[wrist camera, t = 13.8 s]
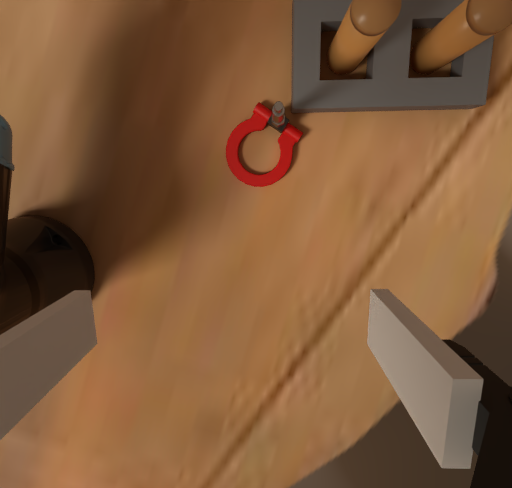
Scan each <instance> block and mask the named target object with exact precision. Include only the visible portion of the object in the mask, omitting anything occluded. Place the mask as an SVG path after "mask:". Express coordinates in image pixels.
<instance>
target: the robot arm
mask: <svg viewBox="0 0 512 488" xmlns="http://www.w3.org/2000/svg"><path fill="white" fill-rule="evenodd" d="M12 170H13V171H14V165H13V163H12V130H11V128H10V125H9V124H8V122H7V121H6V120H5V119H4V118H3V117H2V116H1V115H0V440H1V439H2V438H3V437H4V436H5V435H6V434H7V433H8V432H9V431H10V430H11V429H12V428H13V427H14V426H15V425H16V424H17V423H18V422H19V421H20V420H21V419H22V418H23V417H24V416H25V415H26V414H27V413H28V412H29V411H30V410H31V409H32V408H33V407H34V406H35V405H36V404H37V403H38V402H39V401H40V400H41V399H42V398H43V397H44V396H45V395H46V394H47V393H48V392H49V391H50V390H51V389H52V388H53V387H54V386H55V385H56V384H57V383H58V382H59V381H60V380H61V379H62V378H63V377H64V376H65V375H66V374H67V373H68V372H69V371H70V370H71V369H72V368H73V367H74V366H75V365H76V364H77V363H78V362H79V361H80V360H81V359H82V358H83V357H84V356H85V355H86V354H87V353H88V352H89V351H90V350H91V349H92V348H93V347H94V346H95V345H96V344H97V337H96V330H95V322H94V314H93V307H92V299H91V291H92V288H93V283H94V267H93V262H92V259H91V256H90V253H89V251H88V249H87V248H86V246H85V244H84V243H83V242H82V240H81V239H80V238H79V237H78V236H77V235H76V234H75V233H74V232H73V231H72V230H71V229H70V228H68V227H67V226H65V225H64V224H62V223H60V222H58V221H56V220H53V219H50V218H47V217H42V216H24V217H19V218H13V219H9V220H8V210H9V199H10V188H11V177H12ZM367 344H368V346H369V348H370V349H371V351H372V353H373V354H374V356H375V358H376V359H377V361H378V363H379V364H380V366H381V368H382V369H383V371H384V373H385V374H386V376H387V378H388V379H389V381H390V383H391V384H392V386H393V388H394V389H395V391H396V393H397V394H398V396H399V398H400V399H401V401H402V403H403V404H404V406H405V408H406V409H407V411H408V413H409V414H410V416H411V418H412V419H413V421H414V422H415V424H416V426H417V428H418V429H419V431H420V433H421V434H422V436H423V438H424V439H425V441H426V443H427V444H428V446H429V448H430V449H431V451H432V453H433V454H434V456H435V458H436V459H437V461H438V462H439V464H440V466H441V468H470V467H471V460H472V453H473V450H474V451H475V452H476V454H477V455H478V459H477V463H476V467H475V471H474V475H473V479H472V482H471V486H470V488H512V387H510V386H508V385H507V384H506V383H505V382H504V381H503V380H502V379H500V378H499V377H498V376H497V375H496V374H495V373H493V372H492V371H491V370H490V369H489V368H488V367H487V366H485V365H483V363H482V362H481V361H479V360H478V359H477V358H475V357H474V355H472V354H471V353H470V352H469V351H468V350H467V349H466V348H465V347H463V346H461V345H459V344H457V343H455V342H453V341H451V340H441V339H440V338H439V337H438V336H437V335H436V334H435V333H434V332H433V331H432V330H431V329H430V328H428V327H427V326H426V325H425V324H424V323H423V322H422V321H421V320H420V319H419V318H418V317H417V316H416V315H415V314H414V313H412V312H411V311H410V310H409V309H408V308H407V307H406V306H405V305H404V304H403V303H402V302H401V301H400V300H399V299H398V298H396V297H395V296H394V295H393V294H392V293H391V292H390V291H389V290H388V289H371V292H370V308H369V324H368V340H367Z"/></svg>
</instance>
